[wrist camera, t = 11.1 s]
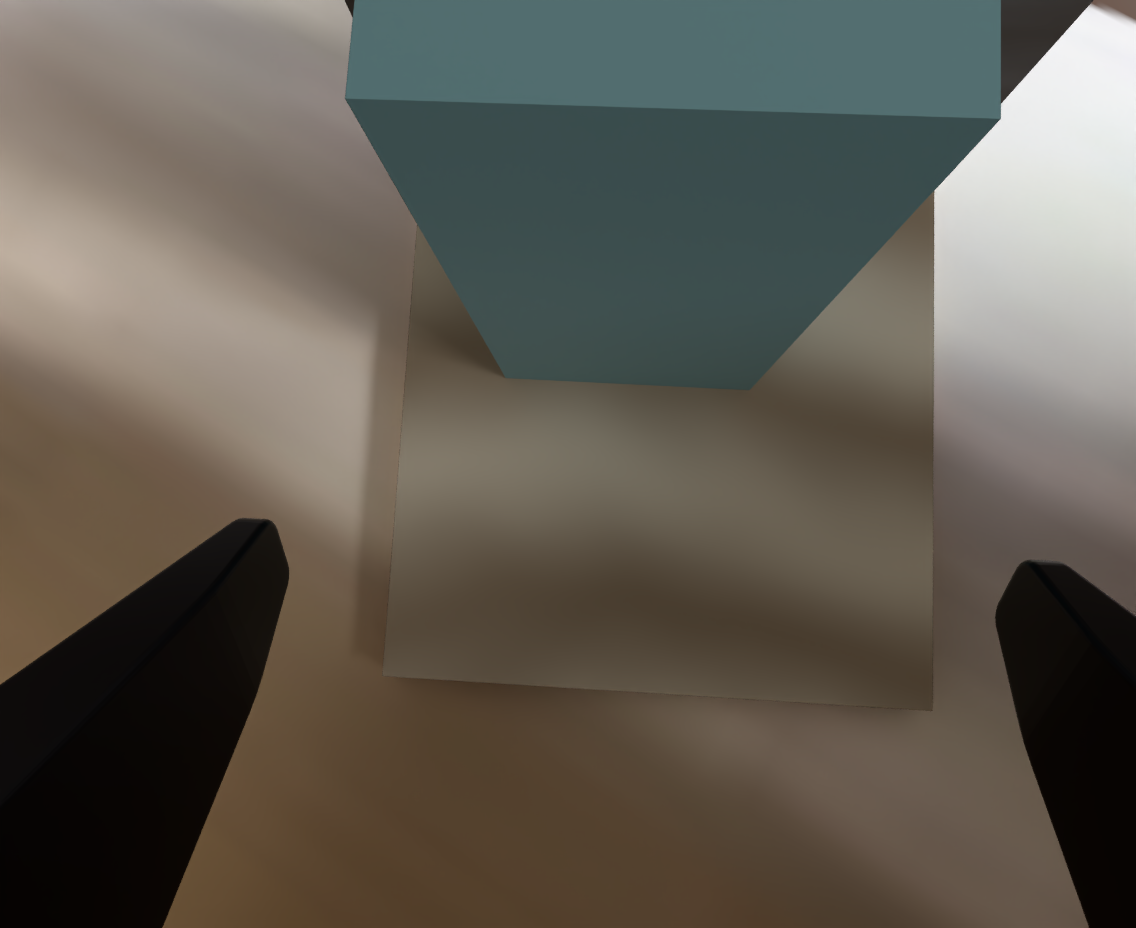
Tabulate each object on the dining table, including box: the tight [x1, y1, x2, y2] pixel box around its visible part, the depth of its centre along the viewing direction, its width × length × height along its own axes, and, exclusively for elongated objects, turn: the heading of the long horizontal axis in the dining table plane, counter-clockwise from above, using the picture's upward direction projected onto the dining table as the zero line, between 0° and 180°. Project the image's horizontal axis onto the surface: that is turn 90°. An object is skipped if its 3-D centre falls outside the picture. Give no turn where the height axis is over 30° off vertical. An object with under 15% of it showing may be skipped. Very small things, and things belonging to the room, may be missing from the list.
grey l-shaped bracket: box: [345, 0, 1093, 711], centre depth 16 cm, size 16×14×11 cm
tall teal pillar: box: [345, 0, 1001, 390], centre depth 14 cm, size 4×6×13 cm, turn 87°
